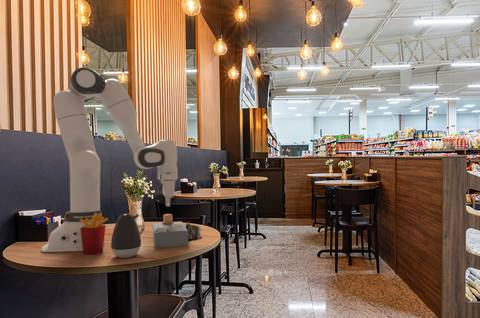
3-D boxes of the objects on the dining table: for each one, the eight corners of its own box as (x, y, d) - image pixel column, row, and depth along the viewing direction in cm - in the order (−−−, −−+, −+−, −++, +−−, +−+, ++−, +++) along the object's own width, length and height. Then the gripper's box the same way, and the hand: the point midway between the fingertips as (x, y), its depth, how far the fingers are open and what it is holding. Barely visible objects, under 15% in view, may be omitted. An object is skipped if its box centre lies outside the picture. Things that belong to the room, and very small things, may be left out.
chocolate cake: (202, 242, 142) (204, 219, 151) (186, 238, 140) (189, 215, 149) (196, 253, 148) (198, 230, 157) (180, 250, 146) (184, 227, 155)
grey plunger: (157, 241, 132) (156, 228, 132) (156, 239, 136) (156, 227, 136) (167, 240, 133) (167, 228, 133) (166, 238, 137) (166, 226, 137)
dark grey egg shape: (147, 254, 121) (147, 212, 121) (123, 261, 112) (122, 216, 112) (129, 250, 126) (129, 210, 127) (105, 257, 118) (104, 214, 118)
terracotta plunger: (163, 226, 148) (163, 215, 148) (163, 225, 152) (163, 214, 152) (172, 226, 149) (172, 215, 150) (172, 224, 153) (172, 213, 153)
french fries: (79, 255, 121) (79, 213, 122) (92, 249, 130) (92, 210, 130) (101, 255, 120) (101, 214, 120) (113, 249, 128) (113, 210, 129)
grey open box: (154, 248, 130) (154, 232, 130) (153, 236, 152) (153, 223, 152) (187, 245, 134) (187, 230, 134) (181, 234, 156) (181, 221, 156)
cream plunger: (172, 236, 140) (172, 224, 141) (171, 234, 144) (171, 223, 144) (181, 235, 142) (181, 224, 142) (180, 234, 145) (180, 222, 146)
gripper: (159, 175, 160) (159, 203, 160) (161, 176, 141) (161, 209, 140) (172, 174, 162) (173, 203, 162) (176, 175, 142) (177, 208, 142)
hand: (167, 206), depth 151 cm, fingers closed
